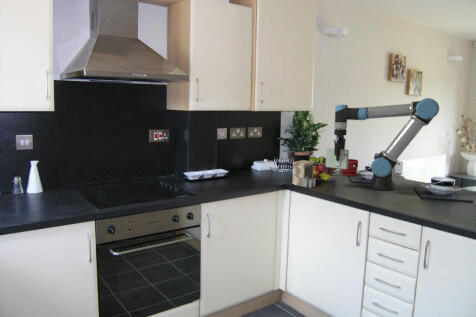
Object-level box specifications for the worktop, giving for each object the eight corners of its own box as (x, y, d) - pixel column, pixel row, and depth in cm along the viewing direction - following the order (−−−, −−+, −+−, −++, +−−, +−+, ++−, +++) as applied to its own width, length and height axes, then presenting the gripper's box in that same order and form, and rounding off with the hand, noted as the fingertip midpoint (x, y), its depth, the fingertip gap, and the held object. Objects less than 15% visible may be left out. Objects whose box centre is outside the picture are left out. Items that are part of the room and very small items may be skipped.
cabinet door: (347, 168, 251) (348, 149, 249) (345, 169, 248) (346, 150, 246) (327, 166, 259) (328, 148, 258) (324, 167, 256) (325, 148, 255)
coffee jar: (309, 179, 284) (310, 154, 282) (294, 178, 284) (295, 154, 282) (307, 176, 295) (308, 152, 292) (292, 175, 295) (293, 152, 292)
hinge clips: (315, 186, 260) (315, 177, 259) (310, 187, 255) (311, 178, 254) (306, 184, 263) (307, 176, 262) (302, 186, 258) (302, 177, 258)
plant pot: (346, 173, 312) (347, 158, 310) (360, 175, 302) (361, 160, 300) (336, 174, 304) (337, 159, 302) (350, 177, 294) (351, 161, 292)
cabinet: (313, 183, 270) (314, 161, 268) (303, 186, 258) (304, 163, 256) (302, 181, 275) (302, 160, 273) (291, 184, 264) (292, 162, 261)
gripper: (339, 128, 258) (338, 163, 261) (329, 129, 245) (328, 166, 249) (351, 128, 254) (349, 164, 257) (341, 129, 241) (339, 167, 244)
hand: (338, 165), depth 253 cm, fingers closed on cabinet door, 3 cm apart
